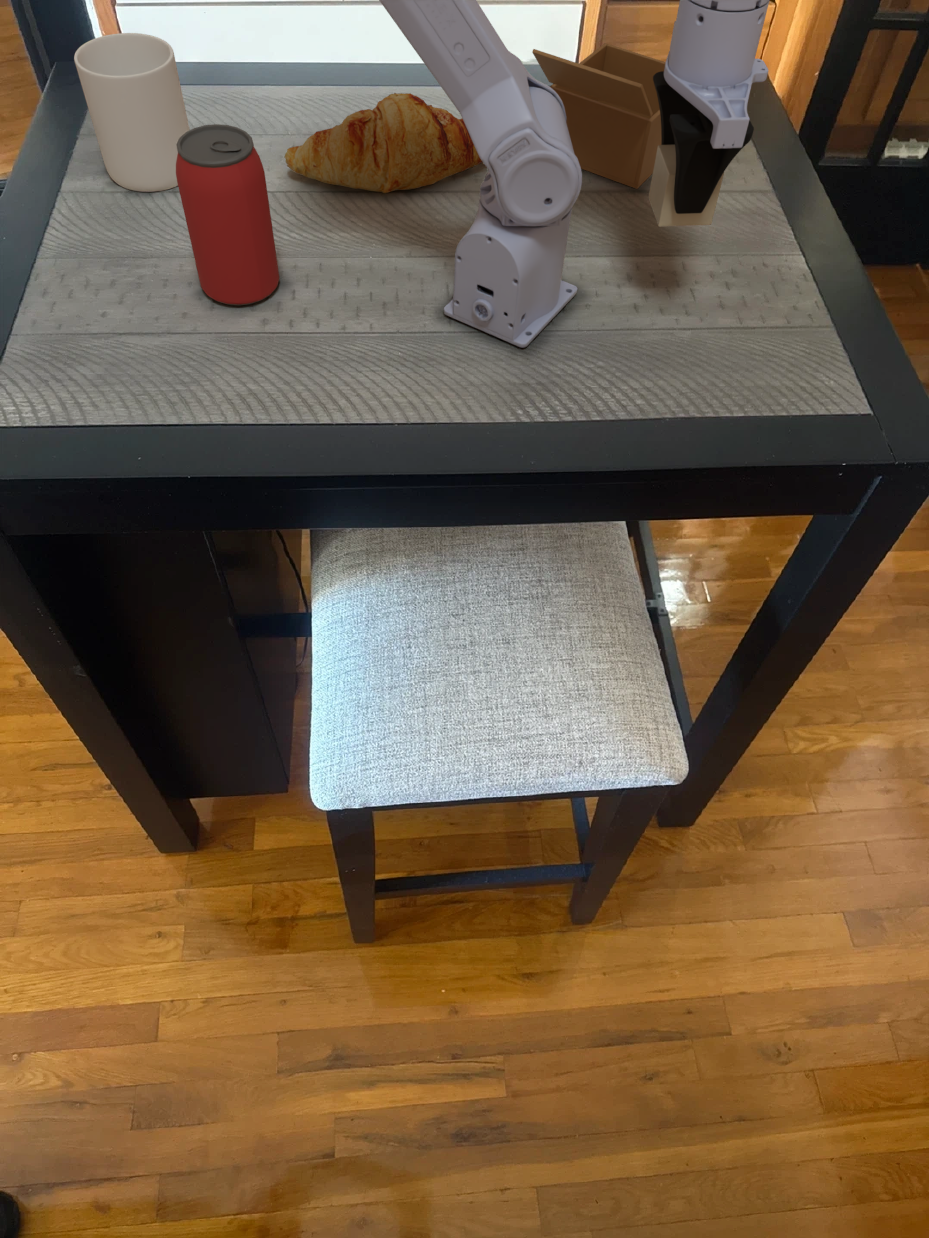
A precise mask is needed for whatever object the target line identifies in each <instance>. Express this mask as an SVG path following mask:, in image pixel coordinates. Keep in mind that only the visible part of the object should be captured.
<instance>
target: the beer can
mask: <svg viewBox="0 0 929 1238" xmlns="http://www.w3.org/2000/svg"><path fill="white" fill-rule="evenodd" d="M176 145H177V151H178V154H177V160H176V178H177V183H178V186H177V187H178V192H179V196H180V199H181V204H182V209H183V214H184V219H185V223H186V226H187V230H188V235H189V240H190V244H191V249H192V253H193V258H194V261H195V266H196V271H197V275H198V280H199V284H200V288H201V289H202V290H203V292H204V293H205V294H206V295H207V296H208V297H209V298H211V299H212V300H214V301H216V302H218V303H221V304H225V305H228V306H246V305H247V306H248V305H253V304H255V303H259V302H261V301H263V300H264V299H266V298H268V297H269V296H270V295H272V294H273V292H274V291H275V290H276V289H277V287H278V284H279V281H280V271H279V264H278V258H277V251H276V243H275V236H274V229H273V223H272V216H271V207H270V202H269V201H270V200H269V193H268V187H267V181H266V173H265V168H264V165H263V162H262V159H261V157H260V155H259V153H258V151H257V149H256V148H255V144H254V140H253V137H252V136H251V135H250V134H249V133H248V131H246V130H244V129H242V128H240V127H237V126H233V125H229V124H220V123H215V124H204V125H200V126H196V127H194V128H192V129H190V130H189V131H187V132H186V133H185V134H183V135H182V136H181V137H180V138H179V140H178V142H177V144H176Z"/></svg>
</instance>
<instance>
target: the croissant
mask: <svg viewBox="0 0 929 1238" xmlns="http://www.w3.org/2000/svg"><path fill="white" fill-rule="evenodd" d="M284 159H285V163H286V164H287V165H286V166H287V167H288V168H289V169H290V170H291V171H293V172H294V173H296V174H298V175H302V176H303V177H305V178H308V179H312V180H316V181H318V182H321V183H323V184H329V185H333V186H340V187H344V188H349V189H354V190H364V191H371V192H377V193H383V194H387V193H390V192H393V191H397V190H399V191H400V190H403V191H406V190H414V189H419V188H422V187H427V186H430V185H431V186H432V185H433V184H435V183H437V182H440V181H442V180H443V179H445V178H448V177H451V176H453V175H456V174H458V173H462V172H465V171H467V170H468V169H471V168H472V169H473V168H474V167H476V166H478V165H480V164H482V163H483V162H482V160H481V159H480V157H479V155H478V153H477V151H476V148H475V146H474V144H473V141H472V139H471V137H470V135H469V132H468V130H467V128H466V125H465V123H464V121H463V119H462V117H461V118H457V117H456V116H455V115H453V114H452V112H450V111H448V110H447V109H445V108H441V107H434V106H433V105H432V104H427V103H426V102H425V100H424V99H422V98H420V97H419V96H417V95H414V94H413V93H411V92H410V93H409V92H407V93H397V92H394V93H390V94H389V95H387V96H386V97H384V98H382V99H381V100H379V101H377V104H376V106H375V107H374V108H372V109H371V108H368V109H360V110H358V111H355V112H353V113H351V114H349V115H346V117H345V118H344V119H343V120H342V123H340V124H336V125H335V126H333V127H331V128H326V129H322V130H316V131H315V132H314V134H312V135H309V137H308V138H307V139H306V140H305V141H304V142H303V144H302V145H295V146H292V147H289V148H287V149H286V152H285V153H284Z"/></svg>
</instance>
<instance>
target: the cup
mask: <svg viewBox="0 0 929 1238" xmlns="http://www.w3.org/2000/svg"><path fill="white" fill-rule="evenodd" d="M73 60H74V61H73V62H74V65H75V67H76V71H77V75H78V78H79V81H80V85H81V89H82V91H83V95H84V99H85V103H86V105H87V108H88V112H89V116H90V119H91V123H92V126H93V129H94V133H95V136H96V140H97V143H98V147H99V150H100V153H101V158H102V161H103V163H104V167H105V169H106V172H107V174H108V175H109V177H110V178H111V180H112V181H114V182H115V183H116V184H117V185H119V186H120V187H122V188H124V189H126V190H130V191H135V192H143V193H153V192H154V193H155V192H162V191H167V190H171V189H174V188H176V187H178V183H177V178H176V160H177V154H178V151H177V145H176V144H177V142H178V140H179V138H180V137H181V136H182V135H183V134H185V133H186V132H187V131H189V130H191V129H190V126H189V120H188V115H187V109H186V106H185V101H184V96H183V90H182V86H181V82H180V75H179V72H178V71H179V70H178V66H177V61H176V56H175V52H174V49H173V47H172V46H171V45H170V43H169V42H167V41H166V40H164V39H162V38H160V37H158V36H156V35H155V36H154V35H151V34H146V33H138V32H120V33H112V34H106V35H102V36H99V37H96V38H93V39H91V40H88V41H87V42H85V43H83V44H82V45H80V46H79V47H78V48H77V50H75V53H74V56H73Z"/></svg>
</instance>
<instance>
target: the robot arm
mask: <svg viewBox="0 0 929 1238" xmlns="http://www.w3.org/2000/svg"><path fill="white" fill-rule="evenodd" d="M770 1H771V0H679V3H678V8H677V14H676V17H675V20H674V23H673V28H672V33H671V34H672V35H671V40H670V43H669V44H670V45H669V51H668V54H667V57H666V59H665V62H666V63H665V69H664V71H661V72H658V73H656V74H655V75H654V76H653V81H654V85H655V89H656V92H657V97H658V102H659V108H660V117H661V145H675V151H676V173H675V185H674V206H675V211H676V213H677V214H690V213H702V212H703V210H704V208H705V207H706V205H707V203H708V201H709V199H710V197H711V195H712V193H713V191H714V189H715V187H716V185H717V183H718V182H719V180H720V178H721V176H722V174H723V173H724V174H725V171H726V170H727V168H728V167H729V165H730V164H731V163H732V161H733V160H734V158H735V157H736V156H737V155H738V154H739V153H740V152H741V151H742V149H743V148H745V146H747V145H748V144H749V142H750V141H751V140H752V138H753V134H754V131H755V128H754V126H753V124H752V122H751V120H750V119H751V118H750V116H749V113H748V104H749V103H748V102H749V98H750V93H751V89H752V86H753V84H754V83H763V82H765V81H767V78H768V74H769V68H768V66H767V64H766V63H765V61H764V60H763V59H761V58H756V55H757V51H758V48H759V44H760V40H761V37H762V32H763V29H764V24H765V20H766V16H767V12H768V8H769V4H770ZM379 2H380V4H381V5H382V7H383V8H384V9H385V11H386V12H387V14H388V15H389V16H390V18H391V19H392V20H393V22H394V23H395V25H396V26H397V27H398V29H399V30H400V32H401V33H402V34H403V36H404V37H405V39H406V40H407V41H408V43H409V44H410V46H411V48H413V50H414V51H415V53H416V54H417V55H418V57H419V58H420V60H421V61H422V62H423V64H424V65H425V67H426V68H427V69H428V71H429V72H430V74H431V75H432V76H433V78H434V79H435V81H436V82H437V84H438V85H439V86H440V88H441V89H442V90H443V92H444V93H445V94H446V96H447V97H448V98H449V101H450V102H451V103H452V104H453V105H454V107H455V109H456V110H457V111H458V113H459V115H460V116H461V118H462V119H463V121H464V123H465V125H466V128H467V130H468V132H469V135H470V137H471V139H472V141H473V144H474V146H475V148H476V151H477V153H478V155H479V157H480V159H481V160H482V163H483V165H484V166H485V168H486V169H487V173H486V175H485V176H484V180H483V181H482V182H481V183H480V185H479V186H480V187H479V199H478V207H477V211H476V215H475V217H474V220H473V222H472V224H471V225H470V228H469V229H468V230H467V232H466V233H465V234H464V235H463V236H462V237H461V239H460V240H459V242H458V243H457V246H456V249H455V254H454V270H453V271H454V272H453V295H452V296H453V297H452V299H451V300H450V301H449V302H448V303H447V304H446V305H445V306H444V307H443V314H444V315H445V316H447V317H450V318H451V319H454V320H456V321H459V322H461V323H463V324H466V325H468V326H469V327H472V328H475V329H477V330H479V331H481V332H484V333H486V334H489V335H490V336H492V337H496V338H498V339H499V340H502V341H504V342H506V343H509V344H511V345H514V346H515V347H519V348H526V347H528V346H529V345H530V343H532V342H533V340H534V339H535V338H537V336H538V335H539V334H540V333H541V332H542V331H543V330H544V329H545V328H546V327H547V326H548V324H550V322H551V321H552V320H553V319H554V318H555V317H556V316H557V315H558V314H559V313H560V312H561V311H562V310H563V308H565V306H566V305H567V304H568V303H569V302H570V301H571V300H572V299H573V298H574V297H575V296H576V295H577V293H578V291H579V290H578V289H579V288H578V287H577V286H576V285H574V284H572V283H570V282H567V281H565V280H562V278H563V270H564V264H565V258H566V252H567V245H568V238H569V233H570V226H571V218H572V211H573V207H574V205H575V204H576V202H577V200H578V198H579V195H580V193H581V190H582V186H583V185H582V184H583V173H582V169H581V167H580V164H579V161H578V158H577V157H576V156H575V154H574V150H573V146H572V142H571V139H570V135H569V131H568V127H567V124H566V113H565V108H564V105H563V102H562V100H561V98H560V97H559V95H558V94H557V93H556V92H555V91H554V90H553V89H552V88H551V87H550V85H548V84H546V83H544V82H542V81H540V80H538V79H536V77H534V76H533V75H532V74H531V73H530V72H529V71H528V70H527V68H526V67H525V64H523V62H522V61H521V60H522V59H520V58H519V57H518V56H517V55H516V54H514V53H512V51H509V50H508V48H507V46H506V45H505V44H504V42H503V39H501V38H500V35H499V34H498V32H497V31H496V29H495V27H494V26H493V24H492V23H491V21H490V20H489V18H488V16H487V14H485V11H484V10H483V9H482V7H481V6H480V4H479V3H478V0H379Z"/></svg>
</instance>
